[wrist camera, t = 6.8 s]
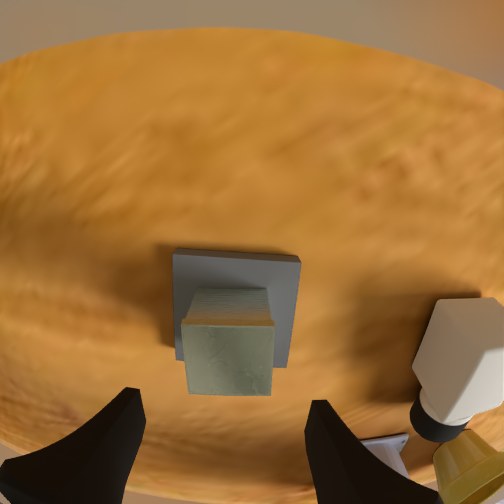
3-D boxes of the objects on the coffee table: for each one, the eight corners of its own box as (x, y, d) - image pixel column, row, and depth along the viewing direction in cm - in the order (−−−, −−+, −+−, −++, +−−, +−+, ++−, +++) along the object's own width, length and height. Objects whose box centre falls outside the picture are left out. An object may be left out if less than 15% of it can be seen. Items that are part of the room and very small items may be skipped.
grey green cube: (266, 348, 21) (270, 395, 16) (199, 347, 21) (188, 393, 16) (268, 287, 20) (274, 325, 15) (195, 286, 20) (180, 324, 15)
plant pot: (443, 471, 30) (466, 517, 21) (404, 467, 29) (428, 524, 19) (493, 423, 28) (525, 467, 18) (463, 413, 26) (500, 467, 17)
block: (283, 352, 23) (286, 367, 21) (180, 345, 23) (175, 360, 21) (296, 253, 21) (301, 262, 19) (179, 245, 21) (172, 254, 19)
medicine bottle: (435, 297, 21) (392, 402, 26) (483, 353, 14) (414, 459, 19) (493, 295, 21) (447, 393, 26) (540, 340, 14) (474, 441, 19)
